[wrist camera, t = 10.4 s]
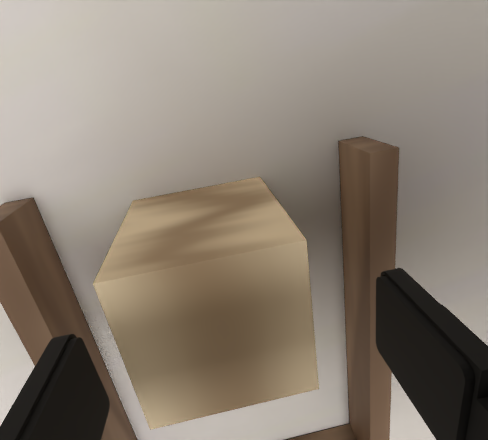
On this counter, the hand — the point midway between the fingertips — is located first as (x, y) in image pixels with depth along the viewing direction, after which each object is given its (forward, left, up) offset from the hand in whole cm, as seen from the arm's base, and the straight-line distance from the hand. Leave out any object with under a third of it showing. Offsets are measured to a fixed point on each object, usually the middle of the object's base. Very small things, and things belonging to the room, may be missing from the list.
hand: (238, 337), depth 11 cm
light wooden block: (+1, 0, -7) cm, 7 cm away
